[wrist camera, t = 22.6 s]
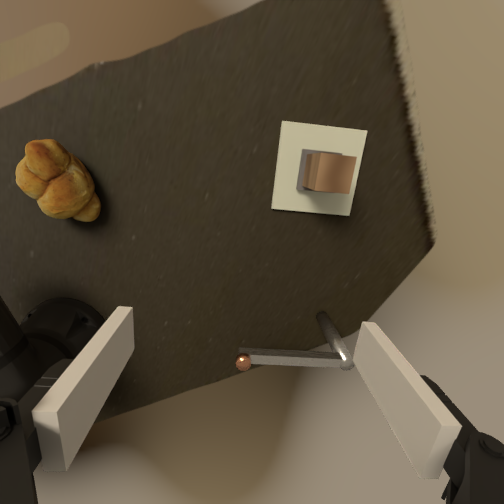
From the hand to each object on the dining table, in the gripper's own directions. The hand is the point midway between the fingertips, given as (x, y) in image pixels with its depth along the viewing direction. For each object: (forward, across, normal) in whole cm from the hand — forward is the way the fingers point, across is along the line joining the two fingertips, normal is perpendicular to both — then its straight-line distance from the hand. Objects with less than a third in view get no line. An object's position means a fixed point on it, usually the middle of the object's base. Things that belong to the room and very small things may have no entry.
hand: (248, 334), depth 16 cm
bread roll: (+35, -29, +3) cm, 45 cm away
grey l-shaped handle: (+35, +10, -19) cm, 41 cm away
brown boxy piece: (+34, +12, +9) cm, 37 cm away
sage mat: (+35, +12, +9) cm, 38 cm away
